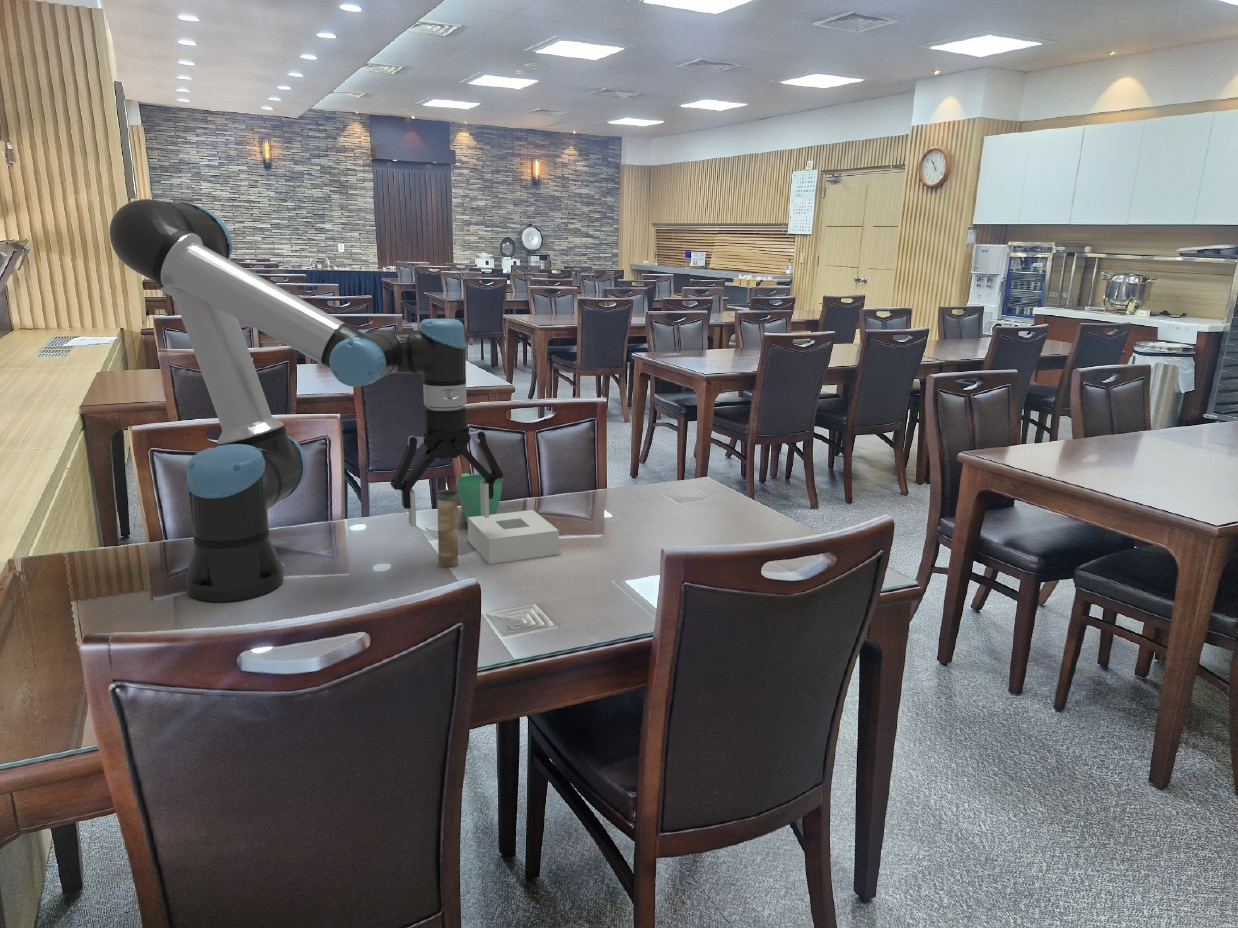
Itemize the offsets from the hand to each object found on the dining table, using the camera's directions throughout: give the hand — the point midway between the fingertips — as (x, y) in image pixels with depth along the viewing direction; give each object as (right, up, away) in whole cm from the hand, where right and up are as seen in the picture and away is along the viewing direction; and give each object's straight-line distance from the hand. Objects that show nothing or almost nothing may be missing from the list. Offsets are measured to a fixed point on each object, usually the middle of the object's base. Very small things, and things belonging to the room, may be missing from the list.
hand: (449, 520), depth 150 cm
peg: (-1, -8, +2) cm, 9 cm away
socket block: (+10, -6, +12) cm, 17 cm away
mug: (0, -2, +26) cm, 27 cm away
